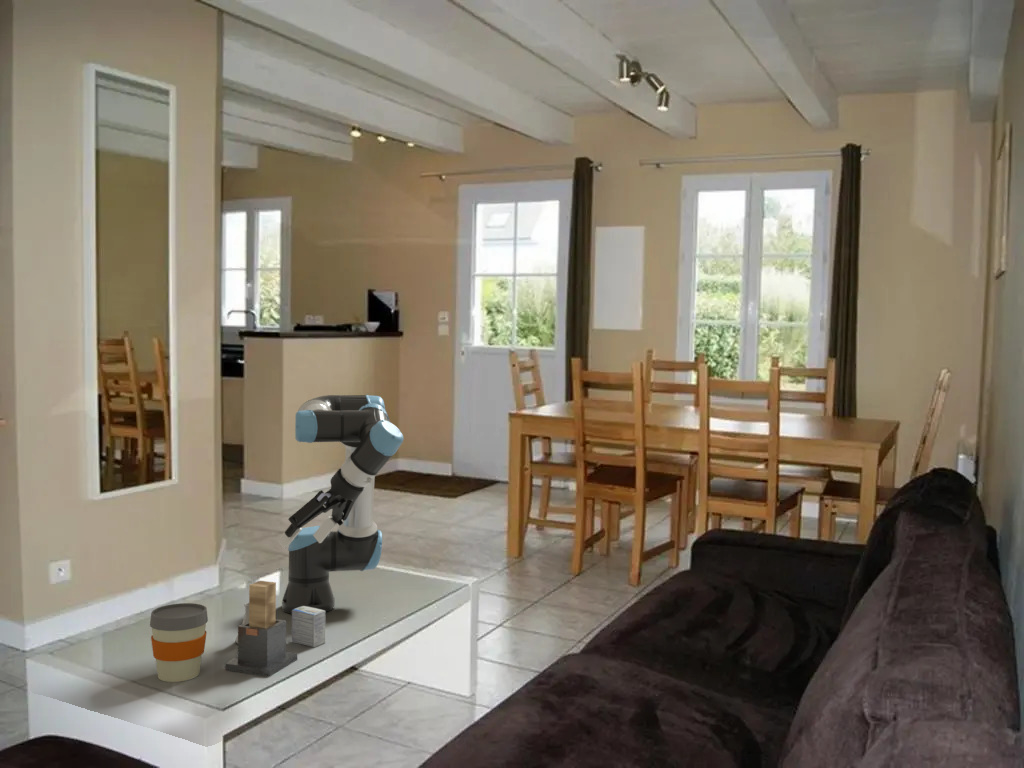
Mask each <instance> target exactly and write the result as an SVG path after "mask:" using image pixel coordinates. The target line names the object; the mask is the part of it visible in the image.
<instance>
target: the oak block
mask: <svg viewBox="0 0 1024 768" xmlns="http://www.w3.org/2000/svg"><path fill="white" fill-rule="evenodd" d="M248 589H249V591H248V595H249V598H248V599H249V600H248V603H249V626H251V627H258V628H268V627H270V626H272V625H274V624H275V621H276V611H277V610H276V609H277V607H276V605H277V602H276V601H277V599H276V598H277V582H275V581H274V582H273V581H268V580H267V581H266V580H258V581H255V582H253V583H251V584H249V586H248Z"/></svg>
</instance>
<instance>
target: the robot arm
mask: <svg viewBox="0 0 1024 768" xmlns="http://www.w3.org/2000/svg"><path fill="white" fill-rule="evenodd" d="M294 419H295V421H294V422H295V423H294V425H295V426H294V428H295V429H294V431H295V432H294V433H295V437H294V438H295V441H297V442H298V443H307V444H312V443H340V444H341V445H343V446H344V447H345V449H344V451H345V456H344V462H343V463H342V464H341V466H340V468H338V470H337V471H336V472H335V473H334V474H333V476H332V477H331V478H330V488H329V490H327V491H326V492H324V491H323V490H319V491H318V492H317V493H316V494H315V496H314V497H312V498H311V499H310V500H309V501H307V502H306V503H304V505H303V506H302V507H300V508H299V509H298V510H297V511H295V512H294V513H293V514H292V515H291V516H290V517H289V518H288V521H289V522H290V524H289V526H288V527H287V528H286V529H285V530H284V531H283V533H282V534H281V535H280V536H279V538H278V539H277V540H276V541H277V543H278V544H279V545H280V547H282V549H283V550H286V549H287V551H288V572H287V573H288V576H287V577H288V579H287V580H288V582H287V585H286V588H285V591H284V594H283V597H282V601H281V610H282V611H283V612H284V613H287V614H290V615H292V610H293V609H295V608H298V607H301V606H307V607H312V608H317V609H321V610H325V613H327V612H326V611H328V612H330V611H332V610H333V609H334V608H335V607H334V606H336V604H335V603H336V602H335V601H336V600H335V599H336V598H335V595H334V592H333V590H332V585H331V583H330V572H349V571H351V572H353V571H355V572H356V571H357V572H358V571H360V572H363V571H368V570H374V569H376V568H377V567H378V565H379V563H380V560H381V556H382V548H383V533H382V531H381V529H380V530H379V529H378V525H377V523H376V522H375V521H374V503H375V502H374V497H375V480H376V478H375V477H376V476H377V475H378V473H379V472H380V471H381V469H383V468H384V466H385V465H386V464H387V462H388V461H389V460H390V459H391V458H392V457H393V456H394V455H395V454H396V453H397V452H398V450H399V448H400V447H401V445H402V444H403V443H404V434H403V433H402V432H401V430H400V429H399V428H398V427H397V425H395V424H393V423H392V422H391V421H390V418H389V416H388V412H387V410H386V406H385V401H384V399H383V398H382V397H381V396H379V395H370V394H369V395H368V394H362V395H361V394H358V395H357V394H348V395H347V394H344V395H343V394H342V395H341V394H339V395H337V394H336V395H335V394H327V395H321V396H317V397H313V398H311V399H309V400H306V401H305V402H304V403H302V404H301V406H299V409H298V411H296V413H295V418H294ZM330 510H331V516H327V518H326V519H325V520H324V521H323V522H322V524H320V525H314V526H308V527H307V526H306V525H307V524H308V523H310V522H311V521H313V520H314V519H316V518H317V517H318V516H319V515H321V514H322V513H324V514H326V513H328V512H329V511H330ZM337 524H338V525H337ZM304 526H306V527H304ZM336 526H337V530H336V531H333V529H335V528H336ZM333 607H334V608H333ZM332 608H333V609H332ZM331 609H332V610H331ZM329 610H330V611H329Z"/></svg>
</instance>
